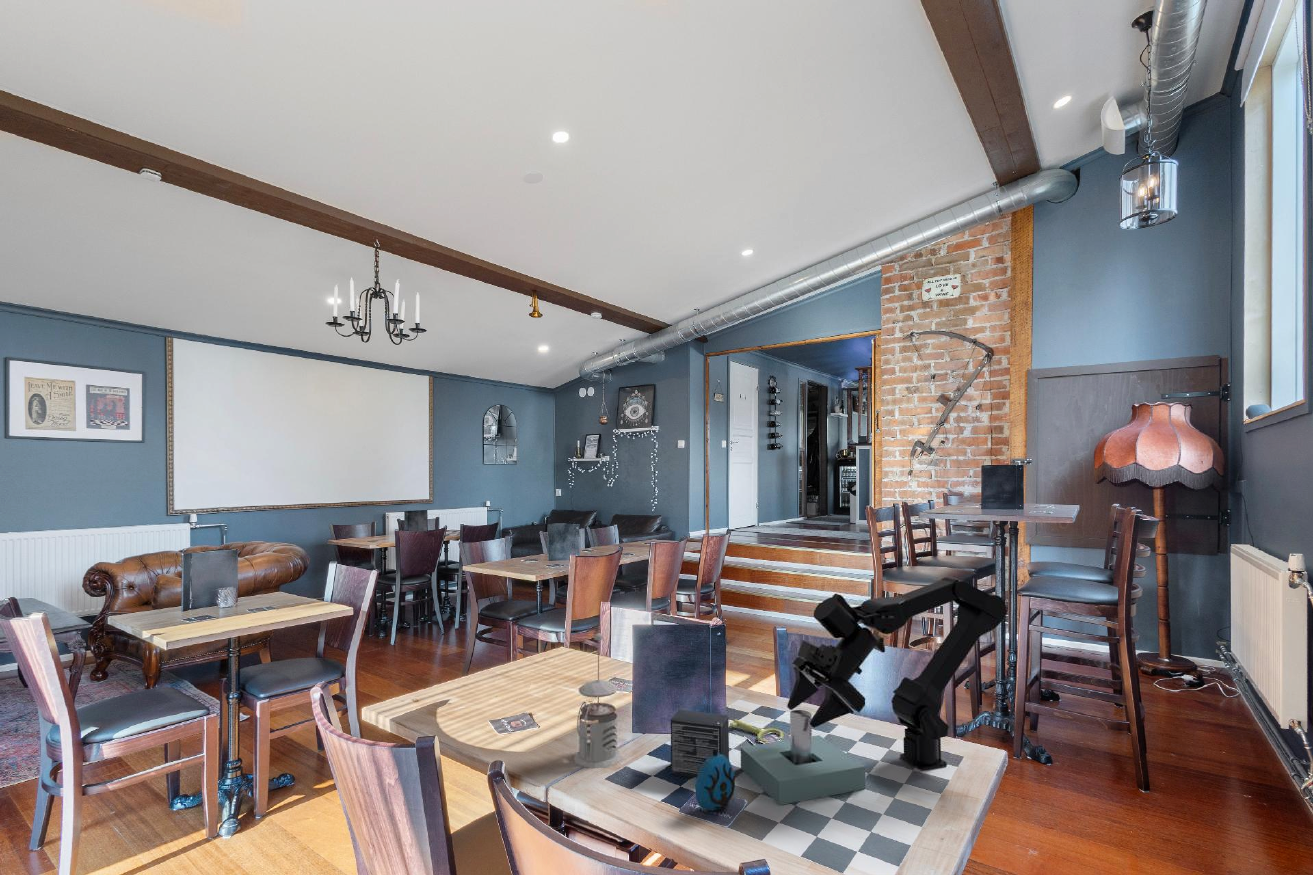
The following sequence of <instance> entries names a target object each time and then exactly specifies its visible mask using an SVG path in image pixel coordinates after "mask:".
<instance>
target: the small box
mask: <svg viewBox="0 0 1313 875" xmlns="http://www.w3.org/2000/svg"><path fill="white" fill-rule="evenodd" d="M729 717H730V716H729V714H719V713H713V712H703V711H702V712H701V711H697V710H696V711H694V710H686V709H678V711H677V712H676V713H674V714H673V716H672V717H671V718H670V720H669V721H670V775H675V776H680V777H689V778H695V779H697V776H698V773H699V770H700V768H701V766H702V765H703V763H704V762H705V760H706V759H707V758H708V757H710V756H711V755H713V750H714V749H716V750H717V751H718V754H722V755H724V756H725V757H726V758H727V759H728V760H729V761H730V739H729V738H730V736H729V735H730V732H729V731H730V730H729V729H730V728H729V726H730V723H729V722H730V721H729V719H730V718H729Z"/></svg>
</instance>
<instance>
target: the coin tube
mask: <svg viewBox="0 0 1313 875" xmlns="http://www.w3.org/2000/svg"><path fill="white" fill-rule="evenodd" d="M789 718H790V719H789V722H790V724H789V726H790V727H789V728H790V729H789V735H790V738H789V740H790V749H791V762H792V763H793V764H794V765H795V766H796V765H802V764H808V763H813V758H812V736H813V730H812V729H813V727H812V726H811V725H810V722H811V720H812V718H813V716H812V713H811V712H810V711H807V710H805V709H804V710H803V709H792V710H790V712H789Z"/></svg>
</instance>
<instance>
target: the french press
mask: <svg viewBox="0 0 1313 875" xmlns="http://www.w3.org/2000/svg"><path fill="white" fill-rule="evenodd" d="M593 639H594V641H595V640H596V641H597V642H598V643H597V679H594V680H590V681H587V682H585V683H583V685H581V686H580V687H579V688H578V693H579V694H580V695H582V696H583V697H588V698H597V702H590V703H588V704H587V703H586V701H583V702H582V703H581V705H580V707H579V711H578V716H577V720H576V721H577V722H576V724H577V726H576V728H577V734H578V737H579V738H578V739H579V740H578V744H579V746H578V752H577V753H576V754H575V755H574V757H573V758H574V759H573V760H574V761H573V762H575V763H576V764H577V765H579V766H581V767H585V768H591V769H602V768H603V769H604V768H607V767H611V766H615V765H616V764H617V763H619V762H620V761H621V760H622V758H623V756H622V753H621V752H620V751H619V750H618V747H617V746H618V740H617V739H618V735H617V733H618V729H617V727H618V714H617V713H616V712H615V711H616V706H614V705H613V704H611V703H606V702H600V700H599V699H600V698H604V697H608V696H612V695H614V694H615V693H616V692H617V691H618V690H619V687H618V686H617V685H616V684H615V683H613V682H611V681H608V680H604V679H600V641H601V640H603V639H604V636H603V634H602V633H599V632H598V633H595V634H594V636H593ZM588 721H589V722H596V721H597V722H596V723H588ZM588 728H589V729H588ZM589 735H590V736H589ZM588 741H589V742H588Z"/></svg>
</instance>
